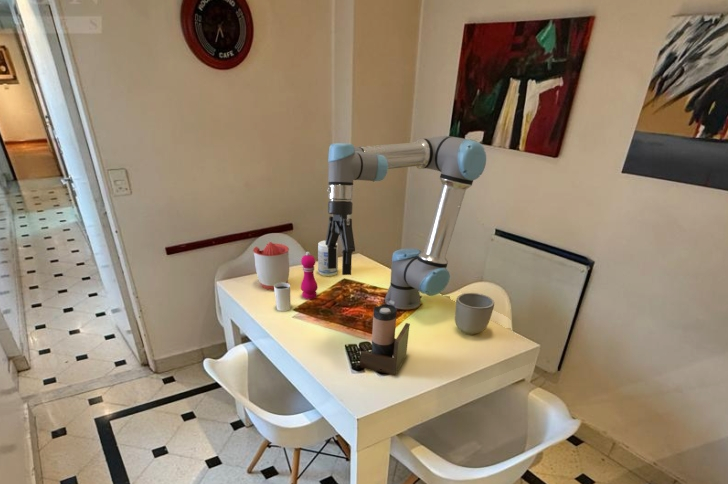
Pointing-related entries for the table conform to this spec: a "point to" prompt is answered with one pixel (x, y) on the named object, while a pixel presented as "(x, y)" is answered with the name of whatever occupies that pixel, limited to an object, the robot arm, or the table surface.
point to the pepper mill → (308, 277)
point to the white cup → (282, 296)
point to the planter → (473, 312)
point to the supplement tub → (325, 260)
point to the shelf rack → (385, 362)
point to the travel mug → (384, 330)
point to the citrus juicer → (272, 265)
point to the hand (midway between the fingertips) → (338, 271)
